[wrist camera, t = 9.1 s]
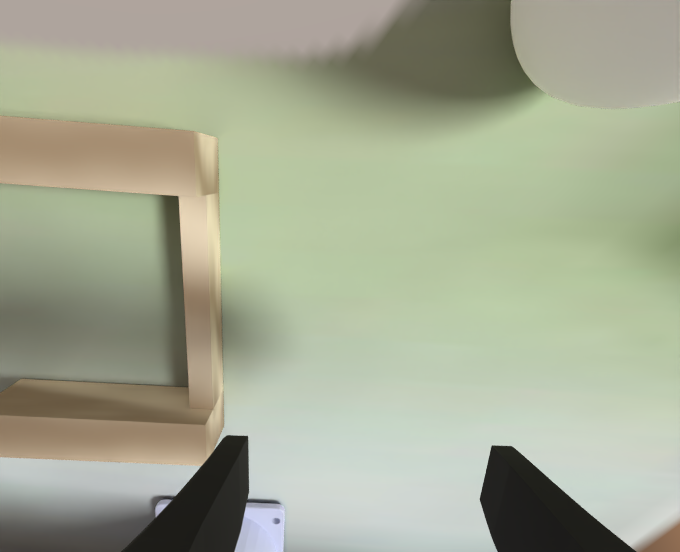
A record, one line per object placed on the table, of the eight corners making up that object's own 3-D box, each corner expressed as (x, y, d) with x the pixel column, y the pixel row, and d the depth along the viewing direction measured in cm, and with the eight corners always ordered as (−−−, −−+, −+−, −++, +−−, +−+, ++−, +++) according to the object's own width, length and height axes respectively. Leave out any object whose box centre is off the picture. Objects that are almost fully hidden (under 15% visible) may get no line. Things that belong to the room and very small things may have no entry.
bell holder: (223, 425, 21) (206, 466, 18) (29, 416, 21) (-20, 456, 18) (217, 137, 17) (193, 130, 14) (-32, 118, 16) (-111, 107, 13)
